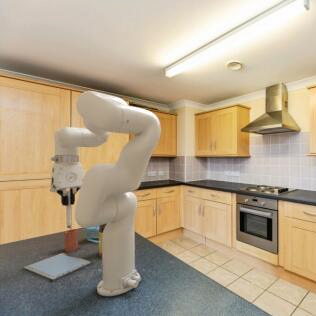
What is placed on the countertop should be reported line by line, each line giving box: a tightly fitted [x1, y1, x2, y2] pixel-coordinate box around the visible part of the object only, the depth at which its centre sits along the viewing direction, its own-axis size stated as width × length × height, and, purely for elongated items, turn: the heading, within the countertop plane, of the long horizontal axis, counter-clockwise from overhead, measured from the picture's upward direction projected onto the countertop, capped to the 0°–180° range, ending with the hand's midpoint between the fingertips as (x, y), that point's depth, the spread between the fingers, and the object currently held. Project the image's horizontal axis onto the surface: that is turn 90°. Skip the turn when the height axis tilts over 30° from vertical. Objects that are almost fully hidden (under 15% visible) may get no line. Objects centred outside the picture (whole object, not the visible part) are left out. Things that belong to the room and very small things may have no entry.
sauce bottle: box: [98, 223, 107, 258], centre depth 93 cm, size 7×6×20 cm
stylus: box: [65, 190, 72, 229], centre depth 86 cm, size 1×1×15 cm
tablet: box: [23, 252, 92, 282], centre depth 83 cm, size 20×13×1 cm, turn 66°
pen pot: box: [64, 228, 79, 253], centre depth 97 cm, size 5×5×9 cm
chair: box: [85, 225, 100, 244], centre depth 108 cm, size 8×8×12 cm
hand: (68, 204), depth 86 cm, fingers closed on stylus, 1 cm apart
